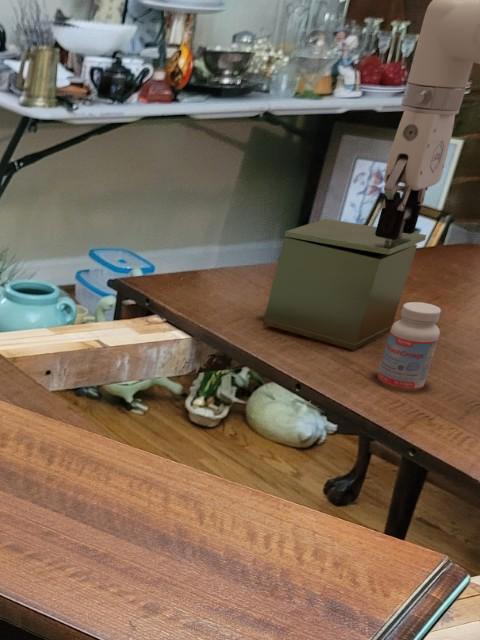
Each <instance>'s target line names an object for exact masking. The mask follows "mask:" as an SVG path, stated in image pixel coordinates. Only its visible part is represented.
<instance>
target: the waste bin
mask: <svg viewBox="0 0 480 640" xmlns="http://www.w3.org/2000/svg"><path fill="white" fill-rule="evenodd" d="M417 247H418V244H414V245H412V246H409V247H407V248H404V249H402V250H399V251H397V252H394V253H392V254H389V255H386V254H380V253H375V252H369V251H363V250H358V249H352V248H346V247H340V246H335V245H329V244H323V243H318V242H312V241H306V240H301V239H295V238H289V237H285V236H284V237H283V240H282V244H281V248H280V252H279V256H278V260H277V264H276V268H275V272H274V276H273V280H272V284H271V287H270V293H269V297H268V301H267V304H266V309H265V313H264V317H263V320H262V325H264V326H268V327H271V328H275V329H279V330H282V331H286V332H289V333H292V334H296V335H300V336H302V337H306V338H309V339H312V340H313V339H314V340H317V341H320V342H323V343H327V344H330V345H334V346H338V347H341V348H345V349H349V350H352V351H354V350H357V349H358V348H360V347H363V346H365V345H367V344H369V343H370V342H372V341H374V340H377V339H379V338H380V337H382V336H384V335H385V334H388V333H390V331H391V328H392V326H393V324H394V321H395V318H396V315H397V311H398V308H399V305H400V302H401V299H402V296H403V292H404V289H405V286H406V282H407V280H408V277H409V272H410V269H411V266H412V263H413V260H414V257H415V254H416V250H417Z"/></svg>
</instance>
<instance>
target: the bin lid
mask: <svg viewBox="0 0 480 640" xmlns="http://www.w3.org/2000/svg"><path fill="white" fill-rule="evenodd" d="M403 211H406V212H405V216H404V219H403V223H402V226H401V230H400V233H399V237H398V239H396V240H392V239H387V238H382V237H377V236H376V235H375V232H376V228H377V226H374V225H373V226H372V225H366V224H360V223H356V222H355V223H354V222H350V221H349V222H348V221H342V220H336V219H332V218H331V219H330V218H323V219H321V220H318V221H314V222H310V223H307V224H304V225H301V226H298V227H295V228H292V229H288V230H285V231H284V237H289V238H295V239H301V240H306V241H312V242H318V243H323V244H329V245H335V246H340V247H346V248H352V249H358V250H363V251H369V252H375V253H380V254H386V255H389V254H392V253H394V252H397V251H399V250H402V249H404V248H407V247H409V246H412V245H414V244H415V245H418V244H419V243H422V242H424V241H426V238H427V234H424V233H423V234H422V233H418V232H417V233H416V232H414V233H412V234H407V233H403V232H404V228H405V224H406V220H408V219H410V218H411V217H412V215H413V209H412V208H411V207H410V206H405V207H404V209H403Z"/></svg>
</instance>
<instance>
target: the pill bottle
mask: <svg viewBox="0 0 480 640" xmlns="http://www.w3.org/2000/svg"><path fill="white" fill-rule="evenodd" d="M441 313H442V309H441V308H440V307H439V306H437V305H434V304H431V303H427V302H421V301H420V302H419V301H411V302H406V303H404V304H403V305H402V309H401V311H400V317H401V319H398V320H396V321H395V322H393V324H392V327H391V331H390V332H389V334H388V338H387V342H386V346H385V349H384V353H383V356H382V359H381V362H380V363H381V364H380V366H379V371H378V374H377V379H378V380H379V381H380V382H382V383H384V384H387V385H389V386H393V387H396V388H400V389H408V390H420V389H422V388H424V386H425V385H426V380H427V377H428V374H429V372H430V367H431V365H432V361H433V359H434V355H435V351H436V348H437V345H438V342H439V339H440V334H441V331H440V329H439V327H438V325H436V323H437V322H438V321H439V319H440V315H441Z"/></svg>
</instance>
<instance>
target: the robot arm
mask: <svg viewBox="0 0 480 640" xmlns="http://www.w3.org/2000/svg"><path fill="white" fill-rule="evenodd" d="M474 63H475V64H478V65H480V0H431V1H430V2H429V4H428V5H427V8H426V9H425V14H424V17H423V21H422V25H421V29H420V33H419V37H418V39H417V43H416V47H415V51H414V54H413V58H412V62H411V66H410V70H409V73H408V78H407V82H406V84H405V88H404V92H403V95H402V99H401V103H400V106H399V109H400V110H403V114H402V116H401V119H400V121H399V124H398V127H397V130H396V133H395V136H394V139H393V143H392V145H391V149H390V152H389V155H388V158H387V162H386V167H385V171H384V175H383V182H384V187H383V192H384V194H383V195H384V196H383V197H384V199H383V201H382V204H381V211H380V213H379V216H378V217H379V218H378V220H377V224H376V227H377V228H376V232H375V235H376V236H377V237H382V238H387V239H392V240H396V239H398V237H399V233H400V230H401V226H402V223H403V219H404V216H405V212H406V211H403V209H404V207H405V206H410V207H411V208H412V209H413V215H412V217H411V218H410V219H408V220H406V224H405V228H404V232H403V233H407V234H412V233H415V231H416V227H417V223H418V219H419V217H420V213H421V209H422V205H423V203H424V201H425V198H426V197H425V196H426V191H428V189H429V188H430V187H432V186H435V185H436V184H438V183H439V182H440V181H441V179H442V175H443V172H444V167H445V164H446V160H447V156H448V152H449V149H450V143H451V139H452V134H453V131H454V126H455V118H456V115H458V114H459V113H460V110H461V106H462V103H463V99H464V97H465V92H466V90H467V86H468V82H469V80H470V75H471V73H472V69H473V65H474ZM399 184H403V185H399ZM401 193H402V194H401Z"/></svg>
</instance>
